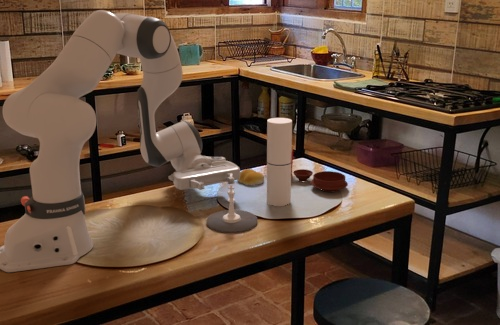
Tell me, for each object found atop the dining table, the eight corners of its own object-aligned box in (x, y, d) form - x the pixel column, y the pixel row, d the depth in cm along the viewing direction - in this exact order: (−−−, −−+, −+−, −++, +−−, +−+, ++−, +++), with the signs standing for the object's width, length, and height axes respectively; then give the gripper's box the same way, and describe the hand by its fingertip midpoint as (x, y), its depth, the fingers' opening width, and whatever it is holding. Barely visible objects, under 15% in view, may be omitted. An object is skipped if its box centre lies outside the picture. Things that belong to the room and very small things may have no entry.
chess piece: (226, 215, 158) (225, 181, 155) (242, 216, 157) (242, 183, 154) (220, 221, 154) (219, 187, 151) (237, 223, 152) (236, 189, 149)
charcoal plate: (219, 236, 146) (219, 234, 146) (198, 217, 158) (198, 215, 158) (266, 226, 153) (266, 223, 152) (243, 208, 164) (243, 206, 164)
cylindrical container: (264, 204, 168) (264, 122, 160) (270, 196, 174) (270, 117, 166) (287, 207, 166) (289, 124, 158) (292, 198, 172) (294, 118, 165)
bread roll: (251, 188, 182) (251, 176, 181) (233, 181, 188) (233, 169, 187) (269, 182, 187) (269, 170, 186) (252, 175, 193) (252, 164, 192)
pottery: (331, 198, 173) (332, 185, 171) (283, 182, 186) (284, 170, 185) (354, 189, 180) (355, 176, 179) (307, 174, 194) (307, 162, 193)
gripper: (165, 165, 167) (182, 179, 156) (228, 156, 176) (248, 168, 165) (166, 185, 169) (183, 201, 158) (228, 175, 178) (248, 188, 167)
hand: (217, 184), depth 161 cm, fingers open, 8 cm apart
